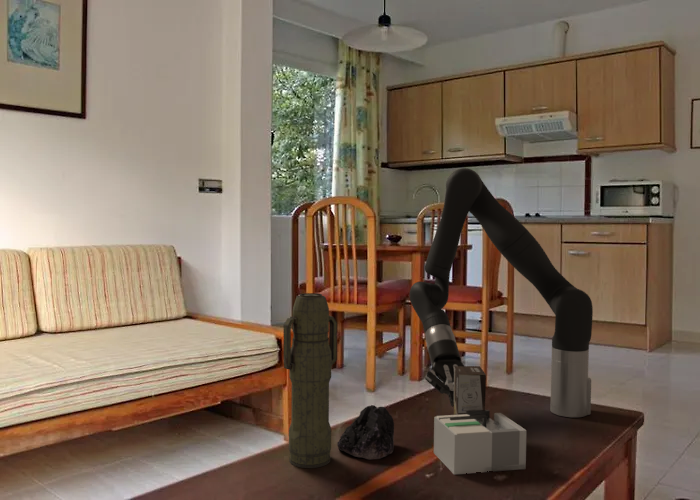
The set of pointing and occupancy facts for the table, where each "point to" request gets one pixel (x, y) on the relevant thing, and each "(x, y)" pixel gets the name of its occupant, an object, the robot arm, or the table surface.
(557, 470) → the table surface
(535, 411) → the table surface
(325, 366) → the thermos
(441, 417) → the gauge housing
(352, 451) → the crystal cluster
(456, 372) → the coffee box
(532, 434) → the table surface
